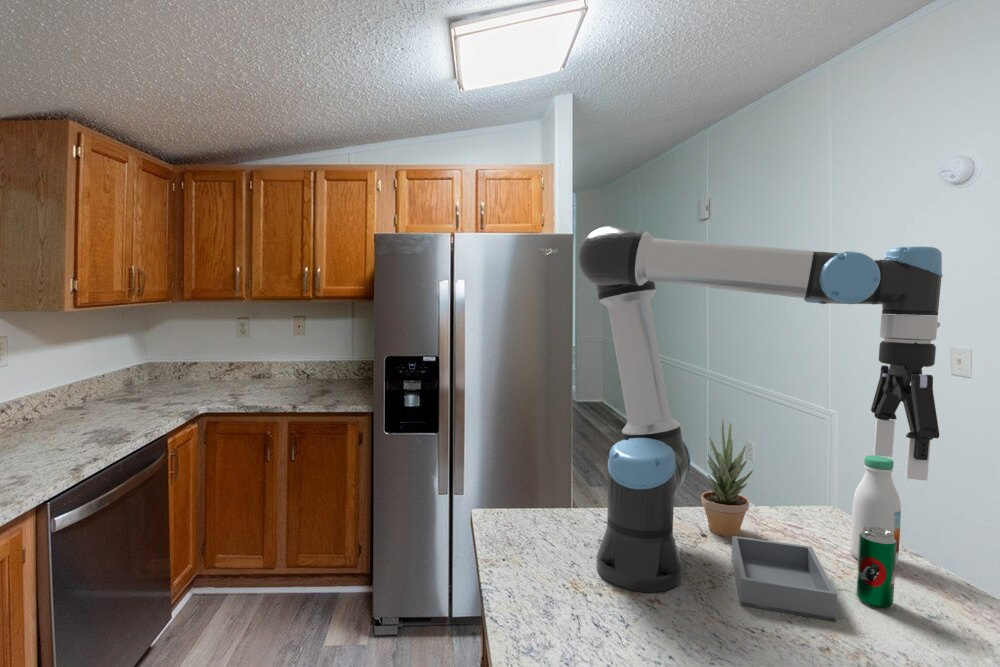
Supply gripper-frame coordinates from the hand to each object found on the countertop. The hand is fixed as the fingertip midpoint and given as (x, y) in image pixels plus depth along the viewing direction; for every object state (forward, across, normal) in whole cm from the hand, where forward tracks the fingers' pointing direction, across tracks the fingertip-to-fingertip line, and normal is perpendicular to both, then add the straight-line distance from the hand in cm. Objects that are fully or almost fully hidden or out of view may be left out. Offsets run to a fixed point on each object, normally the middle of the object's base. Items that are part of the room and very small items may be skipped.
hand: (898, 466), depth 92 cm
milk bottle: (+22, +14, -2) cm, 27 cm away
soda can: (+22, -4, +3) cm, 23 cm away
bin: (+22, -3, +18) cm, 29 cm away
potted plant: (+23, +19, +25) cm, 38 cm away
